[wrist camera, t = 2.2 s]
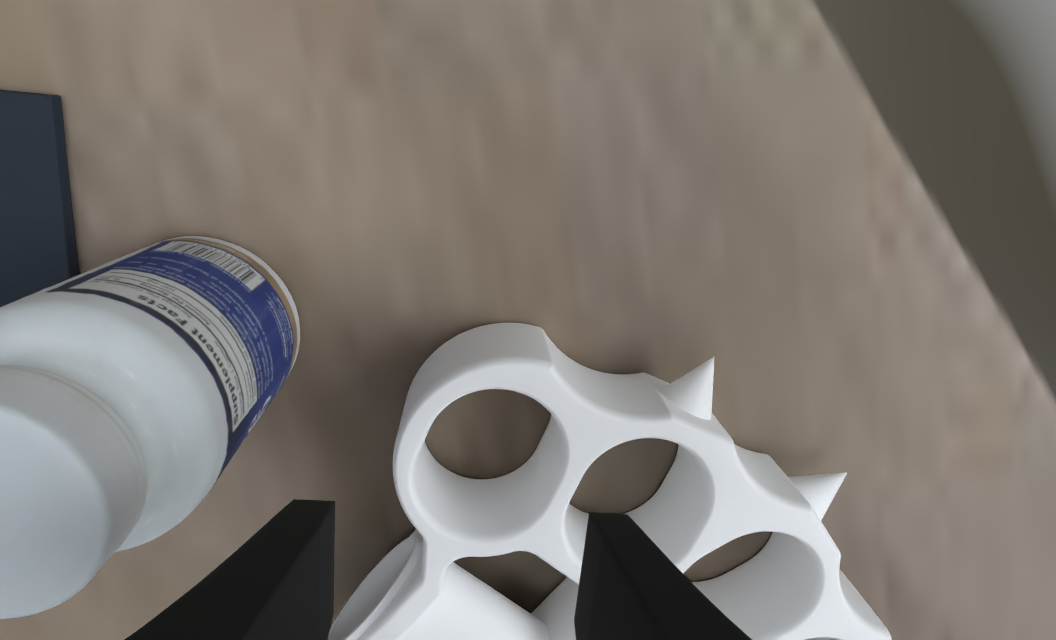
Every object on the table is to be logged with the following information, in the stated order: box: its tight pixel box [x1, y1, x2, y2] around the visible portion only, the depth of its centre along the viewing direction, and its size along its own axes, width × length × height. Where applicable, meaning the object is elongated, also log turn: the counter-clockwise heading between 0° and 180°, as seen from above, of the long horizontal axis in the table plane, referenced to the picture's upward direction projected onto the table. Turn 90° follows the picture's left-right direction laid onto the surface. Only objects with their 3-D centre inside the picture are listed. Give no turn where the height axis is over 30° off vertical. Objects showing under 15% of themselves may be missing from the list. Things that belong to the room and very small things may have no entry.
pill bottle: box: [0, 236, 300, 619], centre depth 15 cm, size 5×5×10 cm
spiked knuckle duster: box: [328, 323, 892, 640], centre depth 21 cm, size 3×18×15 cm
